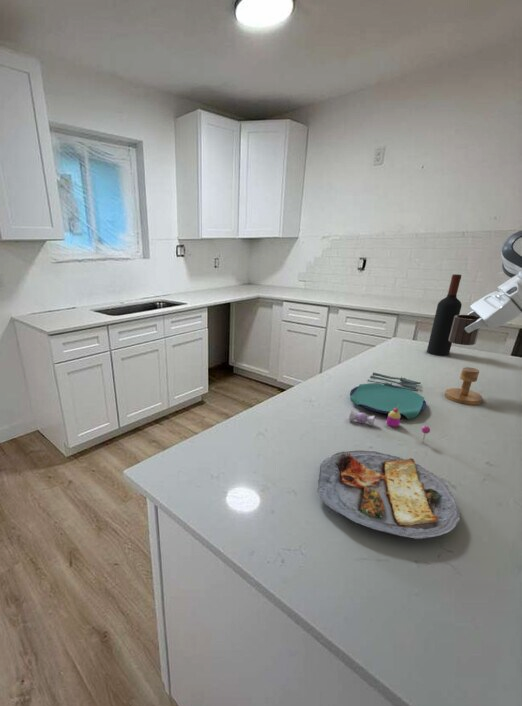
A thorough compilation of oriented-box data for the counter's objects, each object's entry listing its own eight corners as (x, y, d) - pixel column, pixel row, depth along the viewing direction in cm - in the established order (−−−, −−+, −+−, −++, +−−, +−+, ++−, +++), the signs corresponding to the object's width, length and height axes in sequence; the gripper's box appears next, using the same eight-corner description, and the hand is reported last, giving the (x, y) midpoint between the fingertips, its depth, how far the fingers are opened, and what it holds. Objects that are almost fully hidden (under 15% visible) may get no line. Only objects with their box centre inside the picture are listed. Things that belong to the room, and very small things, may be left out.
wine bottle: (423, 353, 144) (441, 275, 132) (430, 348, 149) (448, 273, 137) (445, 357, 139) (466, 276, 127) (451, 352, 144) (472, 274, 132)
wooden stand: (476, 393, 109) (485, 366, 106) (485, 406, 102) (495, 377, 98) (441, 390, 112) (449, 362, 109) (448, 402, 105) (456, 373, 101)
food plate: (322, 449, 85) (323, 437, 83) (437, 469, 77) (441, 455, 75) (312, 525, 64) (314, 510, 62) (469, 564, 55) (476, 547, 54)
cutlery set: (340, 408, 104) (341, 400, 103) (366, 374, 125) (367, 368, 125) (419, 427, 93) (421, 419, 92) (433, 387, 114) (435, 380, 113)
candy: (346, 426, 94) (349, 405, 92) (353, 413, 100) (356, 393, 98) (426, 445, 85) (432, 422, 83) (428, 430, 91) (434, 408, 89)
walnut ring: (471, 339, 110) (478, 315, 107) (478, 345, 104) (485, 320, 101) (446, 338, 112) (452, 314, 109) (451, 344, 106) (457, 318, 104)
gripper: (497, 281, 107) (450, 312, 115) (519, 292, 90) (462, 327, 98) (511, 297, 107) (463, 327, 115) (535, 311, 90) (477, 344, 98)
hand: (463, 327), depth 107 cm, fingers closed on walnut ring, 6 cm apart
